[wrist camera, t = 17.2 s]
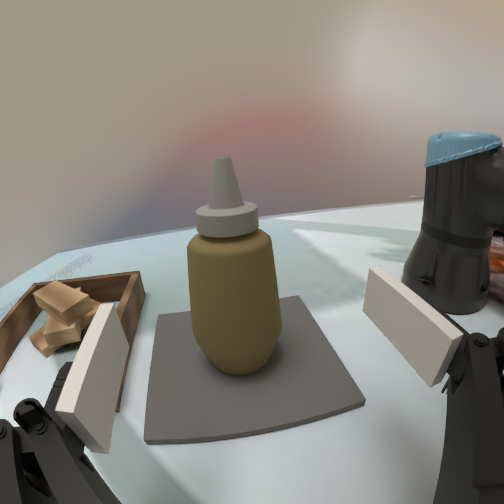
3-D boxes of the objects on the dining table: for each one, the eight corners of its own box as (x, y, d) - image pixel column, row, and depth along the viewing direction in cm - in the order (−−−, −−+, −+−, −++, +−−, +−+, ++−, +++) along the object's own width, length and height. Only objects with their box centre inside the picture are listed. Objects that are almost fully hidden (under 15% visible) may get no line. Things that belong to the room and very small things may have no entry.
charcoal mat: (363, 405, 19) (365, 399, 19) (147, 444, 17) (143, 439, 16) (298, 300, 36) (298, 295, 35) (159, 319, 33) (158, 314, 33)
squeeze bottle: (284, 331, 29) (282, 153, 22) (278, 389, 21) (274, 159, 15) (211, 327, 30) (190, 159, 23) (188, 379, 23) (144, 169, 16)
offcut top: (59, 292, 33) (54, 280, 33) (93, 308, 29) (88, 295, 29) (37, 305, 30) (32, 293, 29) (68, 326, 26) (62, 312, 25)
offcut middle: (84, 298, 36) (80, 286, 35) (80, 340, 27) (74, 327, 26) (59, 305, 34) (55, 293, 33) (49, 348, 25) (42, 334, 24)
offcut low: (110, 316, 35) (105, 305, 34) (49, 362, 25) (42, 350, 24) (91, 308, 37) (87, 297, 36) (34, 348, 27) (28, 336, 26)
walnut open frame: (118, 411, 19) (100, 383, 18) (-16, 393, 16) (-33, 368, 15) (145, 294, 39) (139, 270, 37) (42, 304, 36) (34, 283, 34)
